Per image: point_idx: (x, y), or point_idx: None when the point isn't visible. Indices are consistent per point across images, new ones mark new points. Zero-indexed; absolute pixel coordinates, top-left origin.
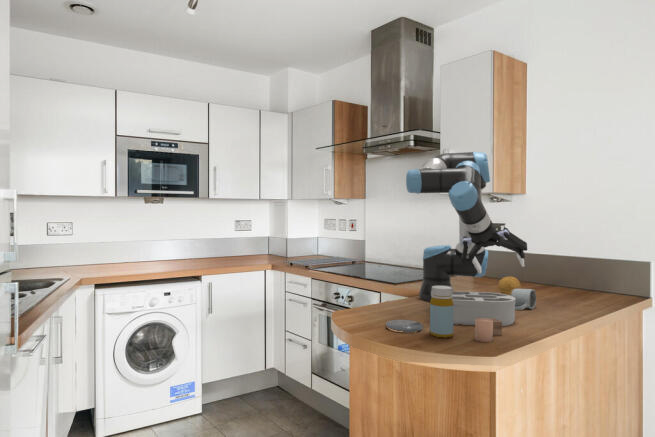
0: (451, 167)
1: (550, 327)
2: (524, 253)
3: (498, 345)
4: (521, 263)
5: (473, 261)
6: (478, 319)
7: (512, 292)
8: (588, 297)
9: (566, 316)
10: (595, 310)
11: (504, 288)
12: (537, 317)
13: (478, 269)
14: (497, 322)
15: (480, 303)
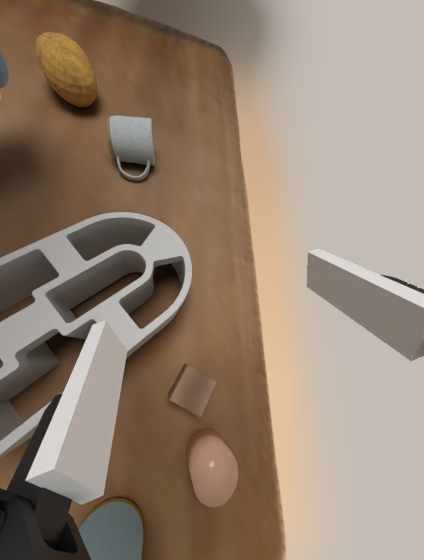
0: None
1: (232, 257)
2: (396, 279)
3: (245, 459)
4: (330, 298)
5: (90, 499)
6: (204, 488)
7: (112, 135)
8: (180, 66)
9: (214, 180)
10: (221, 130)
11: (67, 89)
12: (187, 210)
13: (118, 386)
14: (211, 393)
15: (135, 346)
